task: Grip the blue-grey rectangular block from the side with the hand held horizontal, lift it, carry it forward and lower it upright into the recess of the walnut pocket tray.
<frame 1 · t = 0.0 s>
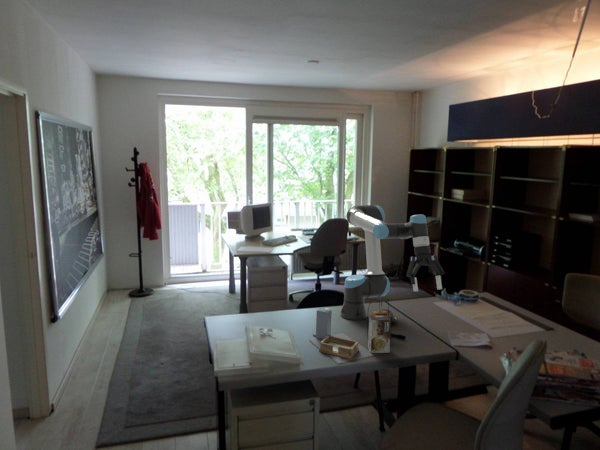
hand: (427, 290, 200), 28 cm above the table, tool tilted 20°, fingers open, 13 cm apart
pocket tray: (338, 350, 195), on the table
multimeter: (382, 339, 211), on the table
blue-grey rectangular block: (323, 336, 212), on the table
coffee box: (378, 350, 197), on the table
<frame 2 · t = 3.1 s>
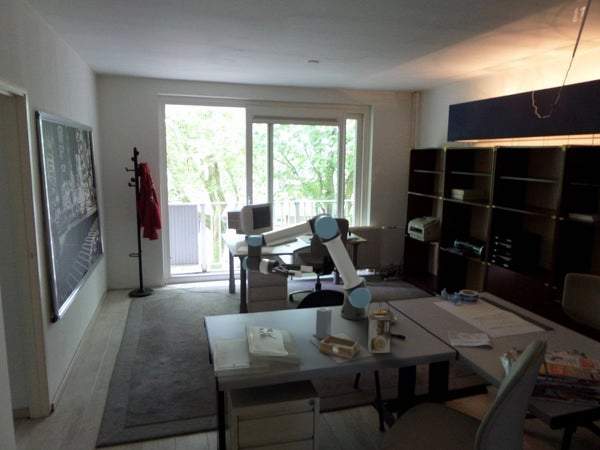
hand: (306, 272, 212), 32 cm above the table, tool horizontal, fingers open, 13 cm apart
nothing on the table moved.
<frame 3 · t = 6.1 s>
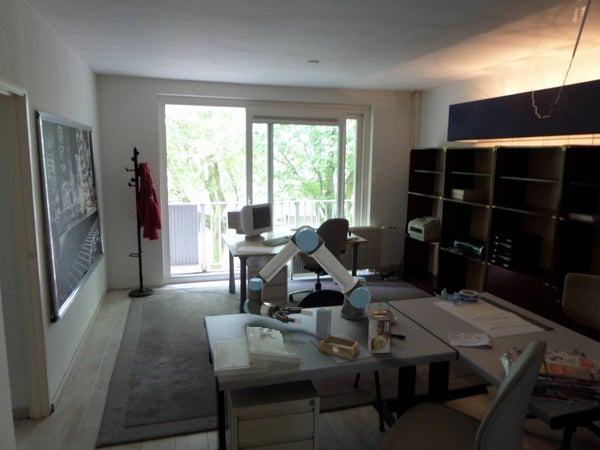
hand: (307, 317, 215), 8 cm above the table, tool horizontal, fingers open, 13 cm apart
nothing on the table moved.
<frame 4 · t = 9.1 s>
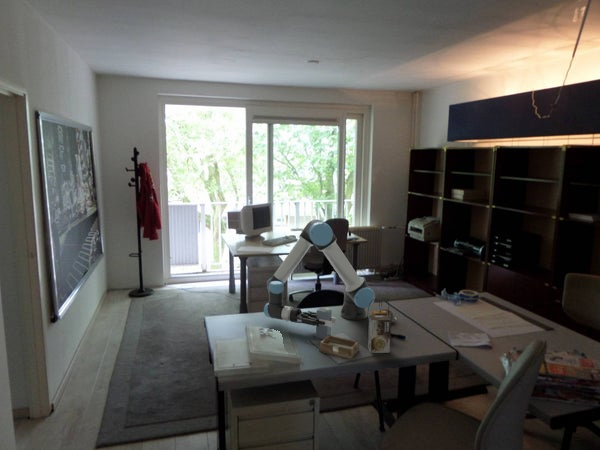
hand: (333, 322, 208), 9 cm above the table, tool horizontal, fingers closed on blue-grey rectangular block, 5 cm apart
blue-grey rectangular block: (323, 336, 212), on the table, touching gripper
everything else where it was.
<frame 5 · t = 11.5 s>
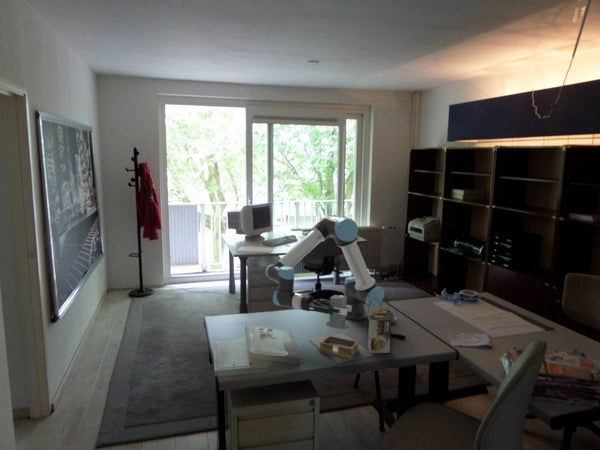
hand: (348, 310, 191), 20 cm above the table, tool horizontal, fingers closed on blue-grey rectangular block, 5 cm apart
blue-grey rectangular block: (337, 326, 195), point 12 cm above the table, touching gripper
everything else where it was.
when the fingers open (10 cm above the table, at t = 14.2 s): blue-grey rectangular block stays where it is, resting on pocket tray.
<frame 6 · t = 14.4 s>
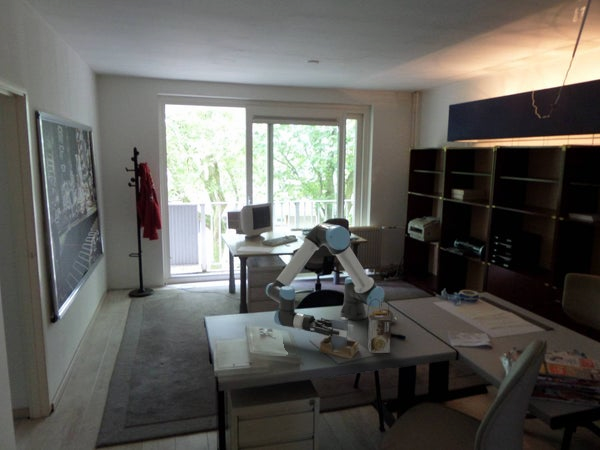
hand: (349, 331, 192), 10 cm above the table, tool horizontal, fingers open, 8 cm apart
blue-grey rectangular block: (338, 348, 195), point 1 cm above the table, touching pocket tray
everything else where it was.
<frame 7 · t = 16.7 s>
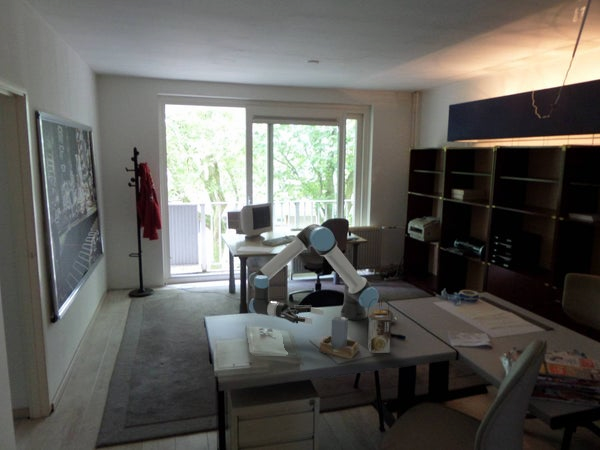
hand: (317, 316, 200), 14 cm above the table, tool horizontal, fingers open, 13 cm apart
nothing on the table moved.
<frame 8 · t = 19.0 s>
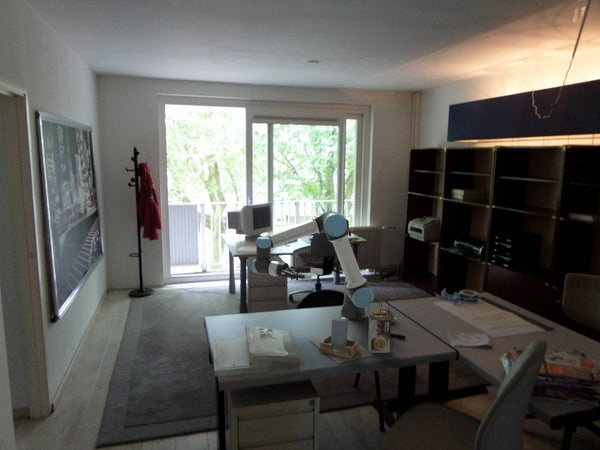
hand: (317, 274, 208), 32 cm above the table, tool horizontal, fingers open, 13 cm apart
nothing on the table moved.
at the end: blue-grey rectangular block 0.1 cm off-centre on the pocket tray, point 1.4 cm above the pocket tray's base; blue-grey rectangular block tilted 0°; the gripper is holding nothing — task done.
